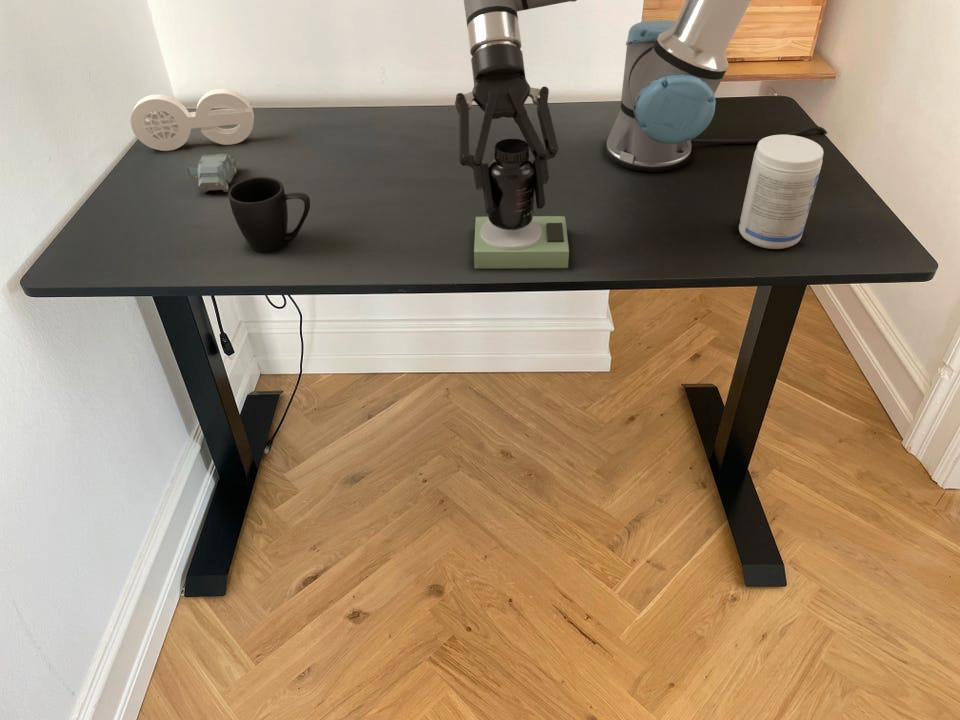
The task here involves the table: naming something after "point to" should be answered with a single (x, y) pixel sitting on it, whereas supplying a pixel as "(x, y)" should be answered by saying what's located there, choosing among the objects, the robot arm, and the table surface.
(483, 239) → the scale
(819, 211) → the table surface
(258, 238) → the mug
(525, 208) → the supplement bottle
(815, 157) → the supplement tub
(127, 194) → the table surface
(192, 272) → the table surface
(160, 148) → the white double disc plate
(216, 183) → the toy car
